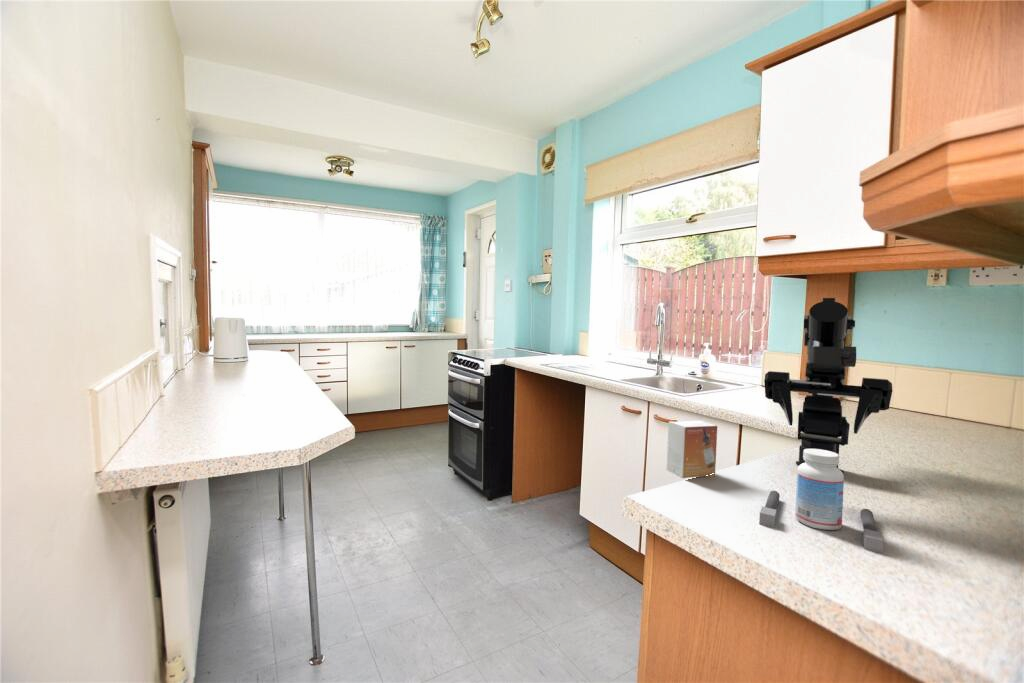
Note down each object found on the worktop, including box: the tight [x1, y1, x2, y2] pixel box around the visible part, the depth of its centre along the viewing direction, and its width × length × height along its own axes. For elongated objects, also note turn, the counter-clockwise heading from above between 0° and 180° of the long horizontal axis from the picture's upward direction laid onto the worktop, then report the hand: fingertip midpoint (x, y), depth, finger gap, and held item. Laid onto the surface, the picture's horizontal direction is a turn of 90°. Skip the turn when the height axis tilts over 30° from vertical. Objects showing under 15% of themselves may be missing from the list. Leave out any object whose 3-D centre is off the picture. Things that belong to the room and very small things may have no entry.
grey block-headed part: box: [860, 508, 885, 554], centre depth 68 cm, size 13×2×2 cm, turn 146°
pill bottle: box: [794, 449, 845, 531], centre depth 71 cm, size 6×6×11 cm
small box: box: [666, 419, 718, 479], centre depth 94 cm, size 8×6×10 cm
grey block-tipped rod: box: [758, 490, 780, 528], centre depth 75 cm, size 13×2×2 cm, turn 145°
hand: (822, 428), depth 78 cm, fingers open, 9 cm apart
